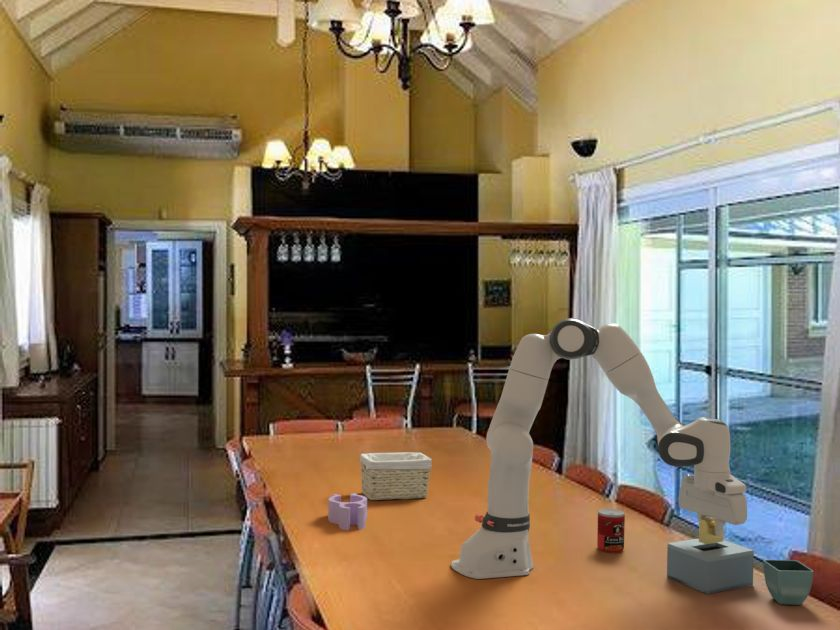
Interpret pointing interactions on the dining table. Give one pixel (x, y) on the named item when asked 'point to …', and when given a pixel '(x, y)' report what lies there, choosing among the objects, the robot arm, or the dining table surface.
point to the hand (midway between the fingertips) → (710, 533)
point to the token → (708, 531)
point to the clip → (348, 511)
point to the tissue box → (710, 565)
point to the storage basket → (395, 475)
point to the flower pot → (788, 580)
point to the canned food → (611, 530)
